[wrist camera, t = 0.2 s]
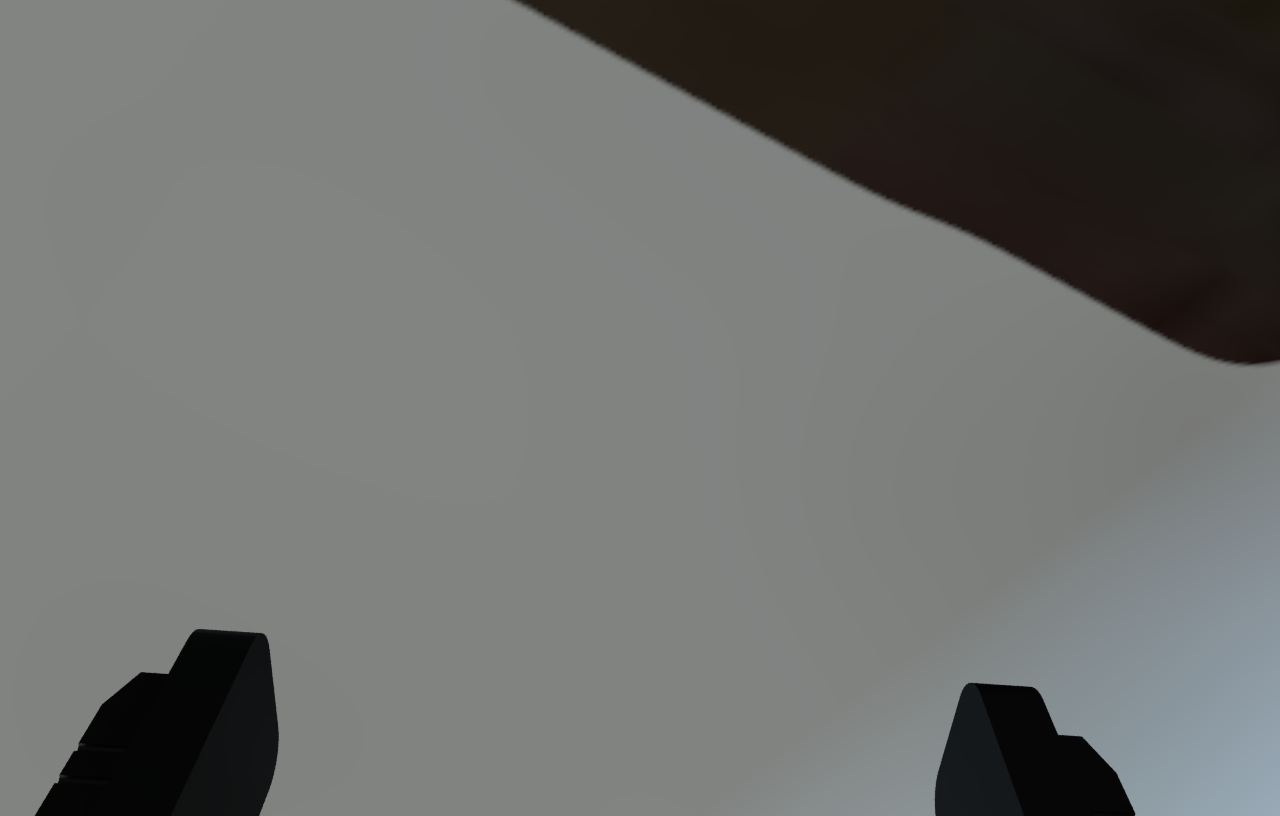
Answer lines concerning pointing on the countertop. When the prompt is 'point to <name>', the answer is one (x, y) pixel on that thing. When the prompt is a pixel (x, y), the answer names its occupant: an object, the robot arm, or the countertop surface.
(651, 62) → the countertop surface
